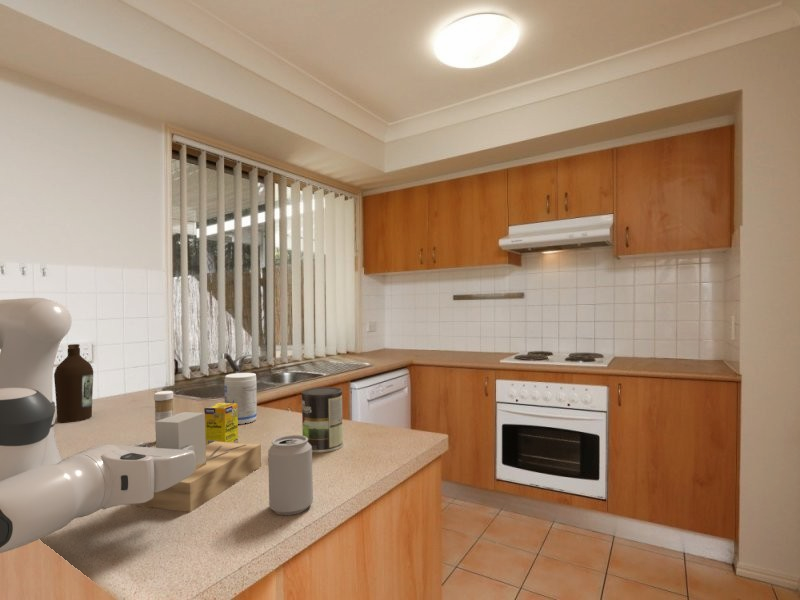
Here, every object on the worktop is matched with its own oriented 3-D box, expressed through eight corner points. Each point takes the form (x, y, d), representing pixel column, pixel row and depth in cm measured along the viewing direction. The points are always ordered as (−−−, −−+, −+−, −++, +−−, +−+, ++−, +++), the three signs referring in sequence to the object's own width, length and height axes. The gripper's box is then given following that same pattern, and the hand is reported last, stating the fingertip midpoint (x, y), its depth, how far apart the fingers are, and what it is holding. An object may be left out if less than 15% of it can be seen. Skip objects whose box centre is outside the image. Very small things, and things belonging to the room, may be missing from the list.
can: (295, 494, 83) (294, 430, 83) (321, 505, 78) (320, 437, 79) (260, 509, 77) (259, 440, 78) (286, 521, 73) (285, 448, 73)
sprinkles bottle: (175, 438, 122) (174, 389, 122) (172, 443, 118) (171, 392, 118) (156, 440, 121) (155, 391, 121) (153, 445, 116) (152, 394, 116)
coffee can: (308, 455, 105) (307, 396, 105) (297, 444, 114) (296, 389, 114) (349, 448, 110) (348, 391, 110) (335, 438, 119) (334, 385, 119)
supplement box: (225, 452, 109) (224, 408, 109) (204, 451, 110) (203, 407, 110) (239, 445, 115) (238, 402, 115) (218, 444, 116) (217, 402, 116)
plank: (190, 511, 77) (190, 482, 77) (134, 505, 80) (134, 477, 80) (261, 466, 98) (260, 443, 98) (214, 463, 101) (214, 441, 101)
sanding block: (179, 478, 79) (178, 422, 80) (156, 476, 81) (155, 421, 81) (206, 464, 86) (204, 412, 86) (184, 462, 88) (183, 412, 88)
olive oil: (47, 424, 142) (46, 346, 142) (64, 416, 152) (63, 344, 152) (85, 421, 144) (84, 345, 144) (99, 414, 154) (98, 342, 155)
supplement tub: (218, 423, 137) (217, 376, 137) (241, 416, 146) (241, 371, 146) (240, 426, 133) (239, 377, 133) (263, 419, 141) (262, 373, 141)
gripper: (47, 492, 69) (123, 462, 83) (154, 504, 64) (217, 469, 77) (46, 451, 69) (122, 428, 83) (154, 460, 64) (216, 433, 77)
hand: (169, 448), depth 80 cm, fingers open, 8 cm apart
